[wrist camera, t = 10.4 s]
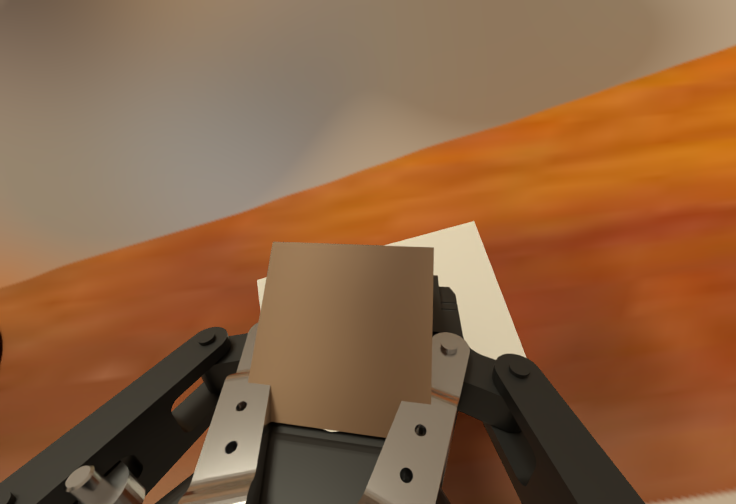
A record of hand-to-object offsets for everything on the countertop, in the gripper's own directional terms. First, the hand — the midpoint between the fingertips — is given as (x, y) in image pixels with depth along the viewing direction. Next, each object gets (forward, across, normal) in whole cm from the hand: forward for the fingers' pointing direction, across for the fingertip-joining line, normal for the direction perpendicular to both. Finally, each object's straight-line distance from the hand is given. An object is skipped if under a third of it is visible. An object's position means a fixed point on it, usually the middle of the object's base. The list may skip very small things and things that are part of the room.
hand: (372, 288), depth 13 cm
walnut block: (+2, 0, +4) cm, 5 cm away
